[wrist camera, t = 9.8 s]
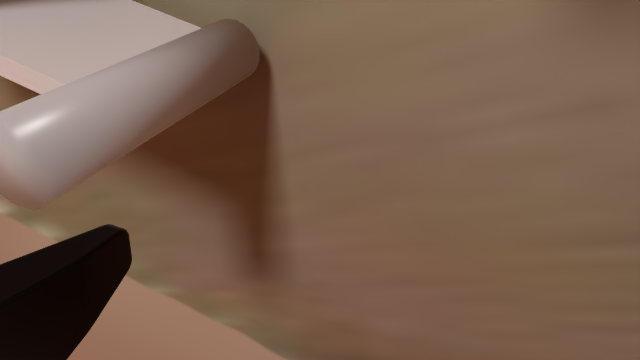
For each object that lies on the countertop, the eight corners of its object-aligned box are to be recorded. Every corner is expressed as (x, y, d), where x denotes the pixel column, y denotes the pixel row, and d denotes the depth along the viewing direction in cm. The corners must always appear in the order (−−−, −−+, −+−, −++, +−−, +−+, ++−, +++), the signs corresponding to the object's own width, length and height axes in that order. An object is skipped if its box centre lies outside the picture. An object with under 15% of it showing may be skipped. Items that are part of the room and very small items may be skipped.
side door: (264, 31, 20) (44, 143, 12) (254, 87, 22) (54, 224, 13) (38, -57, 22) (-288, -18, 14) (44, -1, 24) (-247, 66, 15)
